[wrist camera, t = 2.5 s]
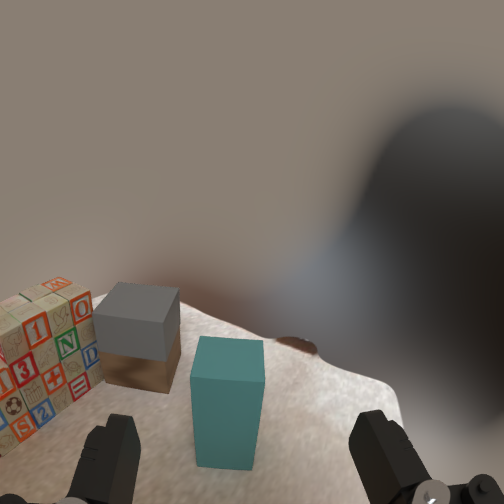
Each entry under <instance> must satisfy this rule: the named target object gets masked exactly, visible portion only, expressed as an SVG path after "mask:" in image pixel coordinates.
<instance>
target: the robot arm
mask: <svg viewBox="0 0 504 504" xmlns="http://www.w3.org/2000/svg"><path fill="white" fill-rule="evenodd" d="M349 450H350V453H351V456H352V458H353V461H354V463H355V466H356V468H357V471H358V473H359V476H360V478H361V481H362V483H363V486H364V489H365V491H366V494H367V496H368V499H369V501H370V504H504V495H503V493H502V492H501V490H500V488H499V486H498V485H497V483H496V481H495V480H494V479H493V478H492V477H491V476H489V475H486V474H480V475H477V476H475V477H474V478H473V479H472V480H471V481H470V482H469V483H467V484H460V485H452V486H447V485H445V484H444V483H443V482H441V481H439V480H433V479H432V478H431V477H430V475H429V474H428V472H427V470H426V468H425V466H424V465H423V463H422V461H421V459H420V458H419V456H418V454H417V452H416V451H415V449H414V448H413V445H412V444H411V442H410V441H409V440H408V437H407V435H406V433H405V431H404V430H403V428H402V427H401V426H400V425H398V424H397V423H396V422H395V421H393V420H390V421H388V420H387V418H386V417H385V415H384V413H383V412H382V411H381V410H373V411H368V412H362V413H360V414H359V416H358V418H357V420H356V423H355V425H354V427H353V430H352V432H351V434H350V437H349ZM140 454H141V445H140V440H139V436H138V433H137V430H136V427H135V423H134V420H133V417H132V416H126V415H118V414H110V416H109V418H108V421H107V424H106V427H103V426H98V425H97V426H96V427H95V428H94V429H93V430H92V431H91V432H90V433H89V434H88V436H87V439H86V441H85V444H84V449H83V450H82V453H81V458H80V459H79V462H78V465H77V468H76V471H75V474H74V477H73V480H72V483H71V487H70V490H69V492H68V494H67V496H66V497H65V498H63V499H61V500H59V501H58V502H57V503H54V504H132V500H133V494H134V488H135V482H136V477H137V471H138V465H139V460H140ZM0 504H37V503H27V502H26V501H25V500H24V499H23V498H21V497H20V496H18V495H15V494H5V495H2V496H1V497H0Z"/></svg>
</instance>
